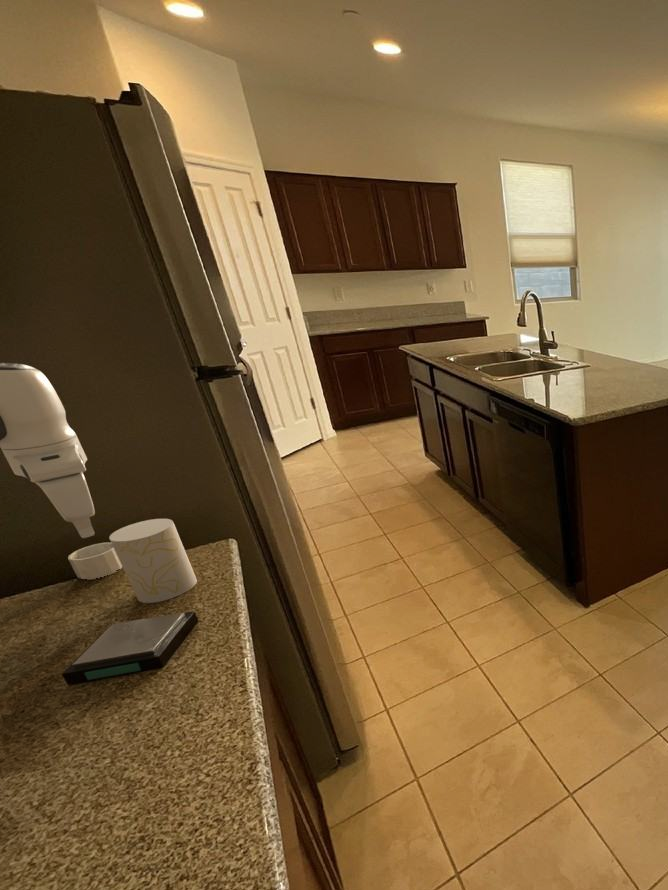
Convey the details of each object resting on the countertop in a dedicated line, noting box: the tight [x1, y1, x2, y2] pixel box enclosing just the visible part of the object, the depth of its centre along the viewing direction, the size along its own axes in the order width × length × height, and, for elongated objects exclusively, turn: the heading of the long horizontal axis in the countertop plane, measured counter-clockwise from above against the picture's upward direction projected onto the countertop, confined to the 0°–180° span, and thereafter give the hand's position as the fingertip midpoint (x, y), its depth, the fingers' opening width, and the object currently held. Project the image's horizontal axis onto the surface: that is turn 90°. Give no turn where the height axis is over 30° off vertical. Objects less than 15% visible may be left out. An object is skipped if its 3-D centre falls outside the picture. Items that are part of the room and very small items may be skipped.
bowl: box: [67, 541, 123, 581], centre depth 97 cm, size 6×6×4 cm
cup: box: [108, 518, 198, 604], centre depth 90 cm, size 8×8×12 cm
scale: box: [61, 610, 199, 686], centre depth 77 cm, size 11×11×3 cm
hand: (82, 528), depth 95 cm, fingers open, 8 cm apart
